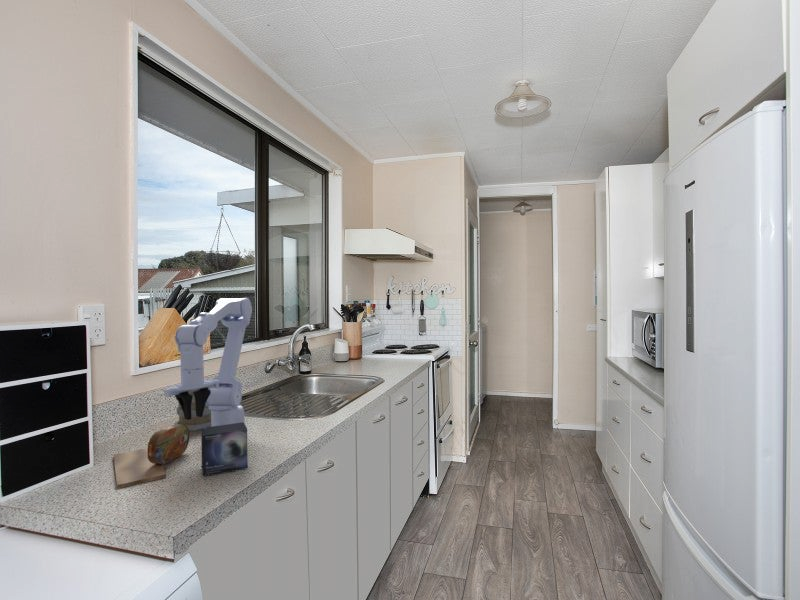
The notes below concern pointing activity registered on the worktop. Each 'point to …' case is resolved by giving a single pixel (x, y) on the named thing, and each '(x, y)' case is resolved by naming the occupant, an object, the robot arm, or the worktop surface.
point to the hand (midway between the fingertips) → (193, 417)
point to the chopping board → (136, 468)
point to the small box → (224, 448)
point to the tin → (168, 444)
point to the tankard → (194, 417)
